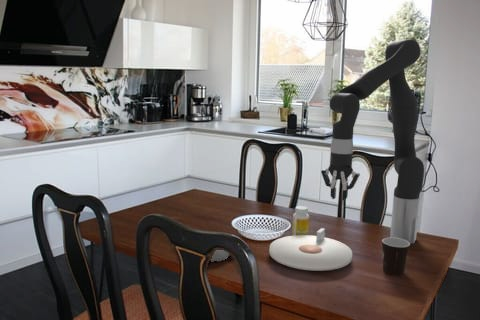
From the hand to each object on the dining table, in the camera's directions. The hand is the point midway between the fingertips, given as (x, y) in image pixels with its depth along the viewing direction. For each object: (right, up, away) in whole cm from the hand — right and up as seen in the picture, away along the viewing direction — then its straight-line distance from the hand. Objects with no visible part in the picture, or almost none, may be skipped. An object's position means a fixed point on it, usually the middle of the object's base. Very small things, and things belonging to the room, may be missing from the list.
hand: (338, 198), depth 170 cm
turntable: (-11, -18, -5) cm, 22 cm away
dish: (-44, -20, -3) cm, 48 cm away
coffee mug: (+14, -23, -15) cm, 31 cm away
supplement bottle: (-11, -16, +18) cm, 27 cm away
